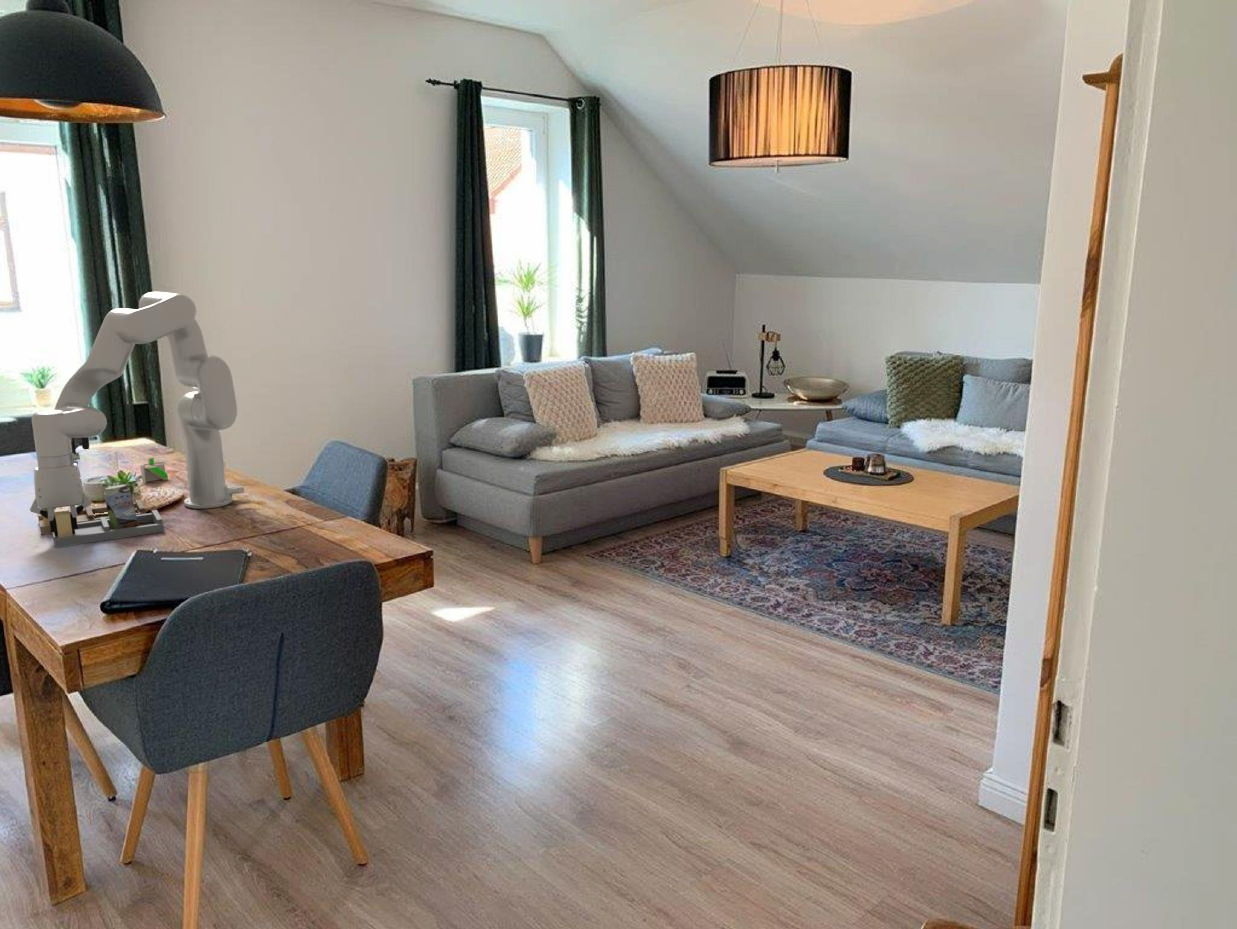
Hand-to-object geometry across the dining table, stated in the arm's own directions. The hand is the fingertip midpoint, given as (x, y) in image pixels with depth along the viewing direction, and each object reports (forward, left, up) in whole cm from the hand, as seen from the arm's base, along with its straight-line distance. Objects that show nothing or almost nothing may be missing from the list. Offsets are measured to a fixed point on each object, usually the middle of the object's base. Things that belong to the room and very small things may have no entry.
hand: (64, 532), depth 234 cm
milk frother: (-5, -98, -2) cm, 98 cm away
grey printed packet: (-13, 0, -2) cm, 13 cm away
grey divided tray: (-10, 0, -2) cm, 10 cm away
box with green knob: (-27, -50, -2) cm, 57 cm away
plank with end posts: (-7, -13, -2) cm, 15 cm away
